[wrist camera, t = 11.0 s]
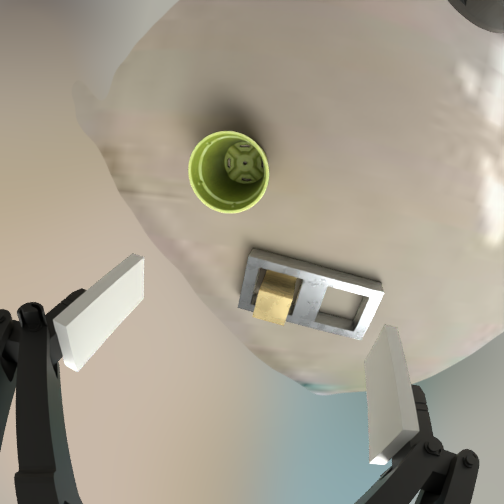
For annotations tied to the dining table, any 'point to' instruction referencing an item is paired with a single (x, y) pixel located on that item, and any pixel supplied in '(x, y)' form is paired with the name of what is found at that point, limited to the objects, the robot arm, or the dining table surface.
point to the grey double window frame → (313, 293)
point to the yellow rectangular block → (275, 297)
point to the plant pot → (228, 172)
